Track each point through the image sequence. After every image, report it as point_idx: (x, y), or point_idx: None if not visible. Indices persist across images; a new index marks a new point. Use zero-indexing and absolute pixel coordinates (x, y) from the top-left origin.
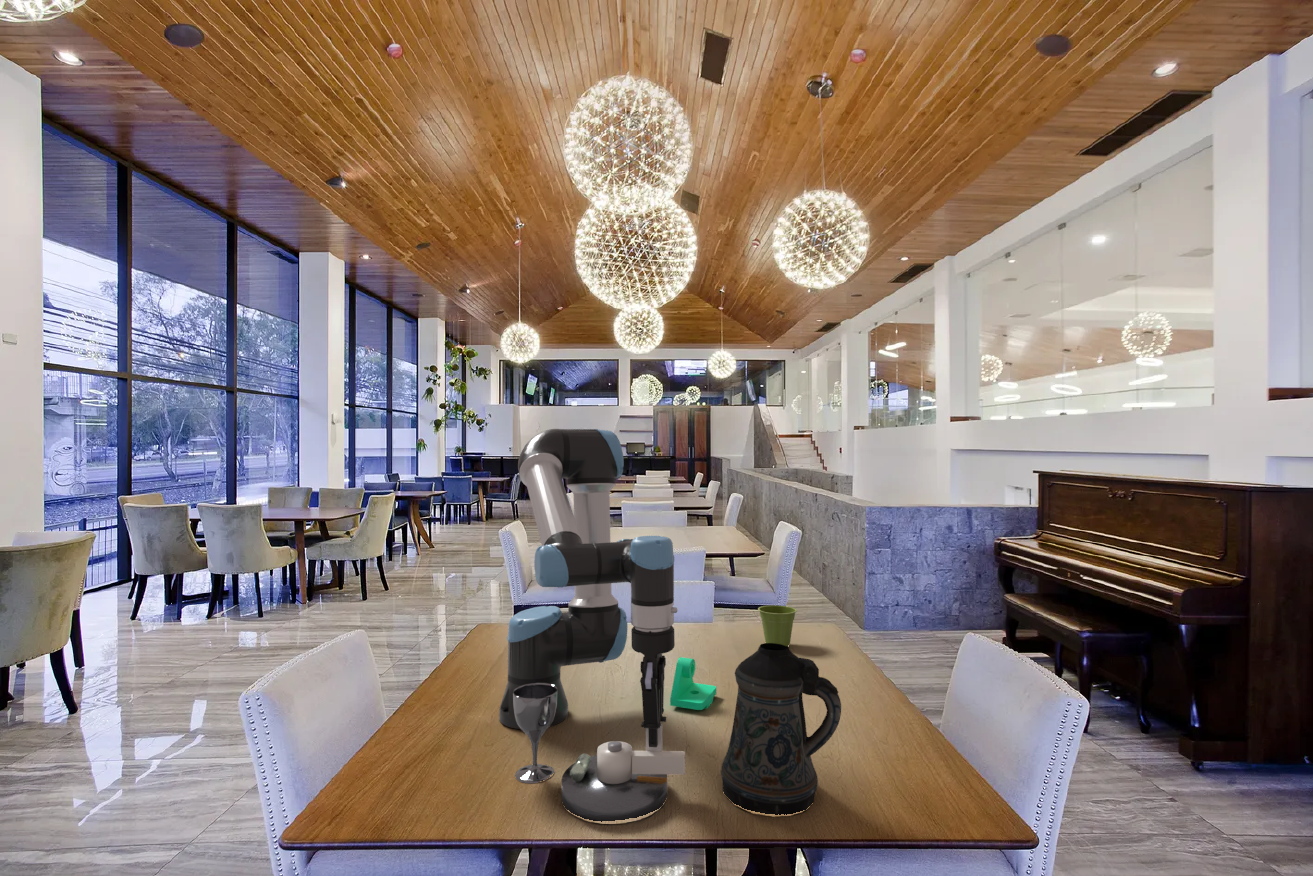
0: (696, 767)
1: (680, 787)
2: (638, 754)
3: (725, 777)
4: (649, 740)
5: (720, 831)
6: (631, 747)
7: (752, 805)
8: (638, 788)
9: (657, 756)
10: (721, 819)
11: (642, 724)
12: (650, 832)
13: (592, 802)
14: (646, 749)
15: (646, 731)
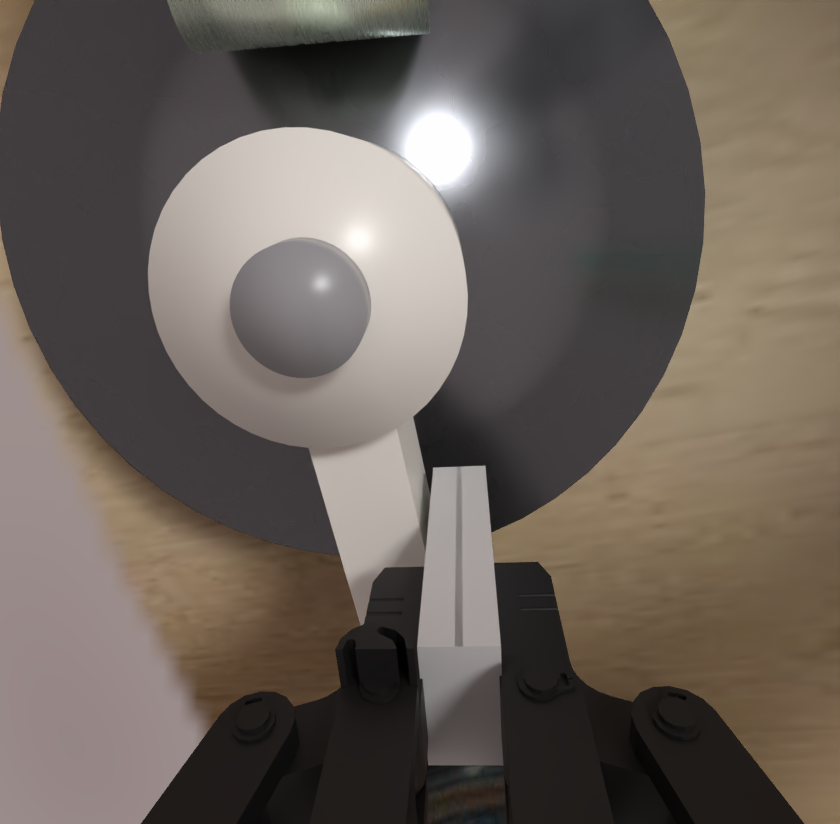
0: (713, 587)
1: (505, 545)
2: (346, 478)
3: (436, 793)
4: (368, 610)
5: (220, 704)
6: (371, 435)
7: None
8: (257, 436)
9: (353, 599)
10: (297, 703)
11: (355, 656)
12: (114, 487)
13: (11, 216)
14: (428, 521)
15: (423, 614)
